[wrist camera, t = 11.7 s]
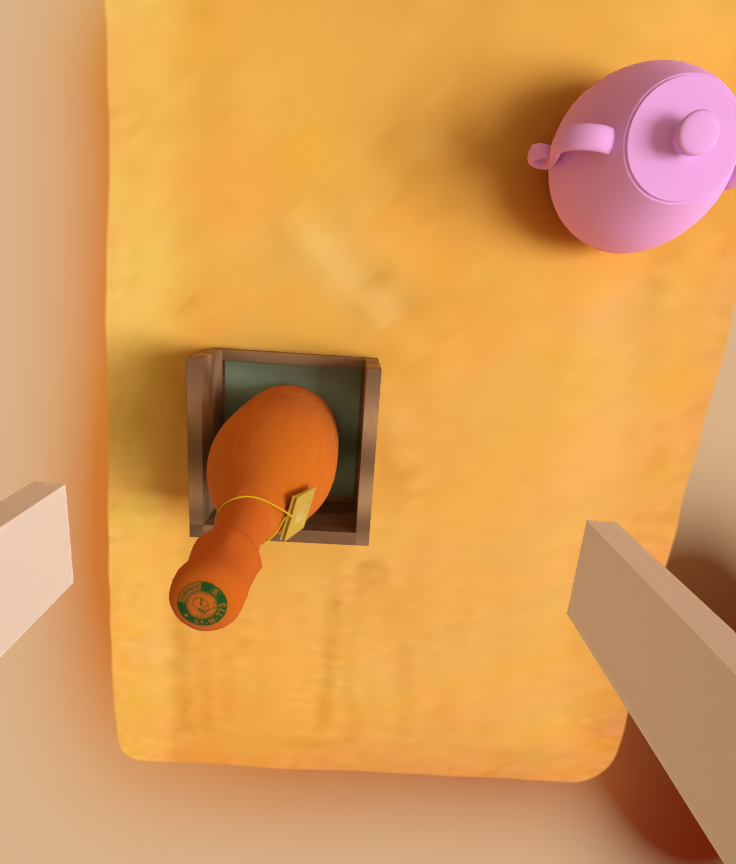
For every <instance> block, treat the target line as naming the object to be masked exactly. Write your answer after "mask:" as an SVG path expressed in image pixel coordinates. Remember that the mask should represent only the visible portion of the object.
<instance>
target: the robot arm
mask: <svg viewBox="0 0 736 864" xmlns="http://www.w3.org/2000/svg"><path fill="white" fill-rule="evenodd" d="M72 583H73V570H72V557H71V545H70V534H69V522H68V509H67V497H66V486H65V484H57V483H43V482H33V483H31V484H30V485H28V486H26V487H24V488H23V489H21V490H19V491H18V492H16V493H14V494H13V495H11V496H9V497H8V498H6V499H5V500H3V501H1V502H0V657H1V656H2V655H3V654H4V653H5V652H6V651H7V650H8V649H9V648H10V647H11V646H12V645H13V644H14V643H15V642H16V641H17V640H18V639H19V638H20V636H22V635H23V634H24V633H25V632H26V631H27V630H28V628H29V627H30V626H31V625H32V624H33V623H34V622H35V621H36V620H37V619H38V618H39V617H40V616H41V615H42V614H43V613H44V612H45V611H46V610H47V609H48V608H49V607H50V606H51V605H52V604H53V603H54V602H55V601H56V600H57V599H58V598H59V597H60V596H61V595H62V594H63V593H64V592H65V591H66V590H67V589H68V587H69V586H70V585H71V584H72ZM567 614H568V616H569V618H570V619H571V621H572V622H573V624H574V625H575V627H576V629H577V630H578V632H579V633H580V635H581V637H582V638H583V640H584V641H585V643H586V645H587V646H588V648H589V649H590V651H591V653H592V654H593V656H594V657H595V659H596V661H597V662H598V664H599V665H600V667H601V668H602V670H603V672H604V673H605V675H606V676H607V678H608V680H609V681H610V683H611V684H612V686H613V688H614V689H615V691H616V692H617V694H618V696H619V697H620V699H621V700H622V702H623V704H624V705H625V707H626V708H627V710H628V711H629V713H630V714H631V716H632V718H633V719H634V721H635V723H636V724H637V726H638V727H639V729H640V730H641V732H642V734H643V735H644V737H645V738H646V740H647V742H648V743H649V745H650V747H651V748H652V750H653V751H654V753H655V754H656V756H657V757H658V759H659V761H660V762H661V764H662V766H663V767H664V769H665V770H666V772H667V774H668V775H669V777H670V778H671V780H672V782H673V783H674V785H675V786H676V788H677V789H678V791H679V793H680V794H681V796H682V797H683V799H684V801H685V802H686V804H687V805H688V807H689V808H690V810H691V812H692V813H693V815H694V816H695V818H696V820H697V821H698V823H699V825H700V826H701V828H702V829H703V831H704V832H705V834H706V836H707V837H708V839H709V840H710V842H711V844H712V845H713V847H714V848H715V850H716V851H717V853H718V855H719V856H720V858H721V860H722V861H723V863H724V864H736V632H734V631H733V630H732V629H731V628H730V627H729V626H728V625H727V624H725V623H724V622H723V621H722V620H721V619H720V618H719V617H718V616H717V615H716V614H714V613H713V611H711V610H710V609H709V608H708V607H707V606H706V605H705V604H704V603H703V602H702V601H701V600H699V599H698V598H697V597H696V596H695V595H694V594H693V593H692V592H691V591H690V590H689V589H688V588H686V586H684V585H683V584H682V583H681V582H680V581H679V580H678V579H677V578H676V577H675V576H674V575H673V574H671V573H670V572H669V571H668V570H667V569H666V568H665V567H664V566H663V565H662V564H661V563H660V562H659V561H657V560H656V559H655V558H654V557H653V556H652V555H651V554H650V553H649V552H648V551H647V550H646V549H644V548H643V547H642V546H641V545H640V544H639V543H638V542H637V541H636V540H635V539H634V538H633V537H631V536H630V535H629V534H628V533H627V532H626V531H625V530H624V529H623V528H622V527H621V526H620V525H619V524H617V523H616V522H604V521H590V520H587V522H586V526H585V531H584V536H583V541H582V545H581V550H580V555H579V560H578V564H577V569H576V574H575V578H574V583H573V588H572V593H571V597H570V602H569V607H568V611H567Z"/></svg>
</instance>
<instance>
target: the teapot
mask: <svg viewBox="0 0 736 864" xmlns="http://www.w3.org/2000/svg"><path fill="white" fill-rule="evenodd" d="M527 160H528V163H529V165H531V166H532V167H534V168H537V169H543V170H546V169H549V170H548V178H549V189H550V194H551V198H552V201H553V205H554V207H555V210H556V212H557V214H558V216H559V218H560V219H561V221H562V222H563V224H564V225H565V226H566V227H567V229H568V230H569V231H570V232H571V233H572V234H573V235H574V236H575V237H577V238H578V239H579V240H580V241H582V242H584V243H585V244H587V245H589V246H591V247H593V248H595V249H598V250H601V251H605V252H611V253H634V252H640V251H644V250H648V249H651V248H655V247H657V246H659V245H662V244H664V243H666V242H668V241H670V240H672V239H674V238H675V237H677V236H679V235H680V234H682V233H683V232H685V231H686V230H687V229H689V228H690V227H691V226H693V225H694V224H695V223H696V222H697V221H699V220H700V219H701V218H702V217H703V216H704V215H705V214H706V213H707V212H708V211H709V209H710V208H711V207H712V206H713V205H714V203H715V202H716V201H717V199H718V198H719V196H720V195H721V193H722V192H723V190H727V189H731V188H735V187H736V99H735V97H734V95H733V93H732V92H731V90H730V89H729V88H728V86H727V85H726V84H725V83H724V82H723V81H722V80H720V79H719V78H717V77H716V76H715V75H713V74H712V73H710V72H708V71H706V70H704V69H703V68H701V67H698V66H695V65H692V64H689V63H686V62H681V61H674V60H653V61H647V62H641V63H638V64H634V65H631V66H628V67H624V68H622V69H620V70H618V71H616V72H613V73H611V74H609V75H607V76H605V77H604V78H602V79H601V80H599V81H598V82H596V83H595V84H594V85H592V86H591V87H590V88H589V89H587V90H586V91H585V92H584V93H583V94H582V95H581V96H580V97H579V98H578V99H577V100H576V101H575V102H574V103H573V105H572V106H571V107H570V109H569V110H568V111H567V113H566V114H565V116H564V118H563V120H562V121H561V123H560V125H559V128H558V130H557V132H556V134H555V137H554V139H553V141H552V144H551V145H549V144H544V143H536V144H533V145H532V146H531V148H530V149H529V152H528V155H527Z"/></svg>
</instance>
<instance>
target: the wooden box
mask: <svg viewBox="0 0 736 864" xmlns="http://www.w3.org/2000/svg"><path fill="white" fill-rule="evenodd" d="M186 377H187V424H188V472H189V519H190V537H200V536H202V535H203V534H204V533H206V532H208V531H210V530H212V529H213V527H214V524H215V517H216V514H217V511H216V509H215V507H214V505H213V503H212V500H211V497H210V494H209V490H208V484H207V462H208V456H209V452H210V448H211V446H212V443H213V441H214V439H215V437H216V435H217V433H218V432H219V430H220V429H221V428H222V426H223V425H224V424H225V422H226V421H227V420H228V419H229V418H230V417H231V416H232V415H233V414H234V413H235V412H236V411H237V410H238V409H240V408H241V407H242V406H243V405H244V404H246V403H247V402H248V401H249V400H251V399H252V398H253V397H255V396H256V395H257V394H259V393H261V392H262V391H264V390H266V389H269V388H271V387H275V386H280V385H296V386H300V387H304V388H307V389H309V390H311V391H313V392H314V393H316V394H318V395H319V396H320V397H321V398H322V399H323V400H324V401H325V402H326V403H327V404H328V405H329V407H330V408H331V410H332V411H333V414H334V416H335V419H336V422H337V426H338V434H339V446H338V459H337V468H336V473H335V478H334V481H333V484H332V487H331V489H330V491H329V494H328V496H327V497H326V499H325V500H324V502H323V503H322V505H321V506H320V507H319V508H318V510H317V511H316V512H315V513H314V514H313V515H312V516H310V517H309V518H308V519H307V520H306V522H305V526H304V528H303V529H301V530H300V531H299V532H297V533H296V534H295V535H293V536H292V537H290V538H289V539H288V540H286V541H285V542H303V543H323V544H342V545H361V546H369V532H370V519H371V505H372V491H373V478H374V464H375V451H376V437H377V423H378V410H379V396H380V382H381V367H380V364H379V361H378V358H364V357H348V356H333V355H317V354H302V353H287V352H271V351H256V350H240V349H225V348H211V349H208V350H205V351H202V352H200V353H197V354H194V355H191V356H188V357H186ZM281 534H282V533H280V534H277V535H274V536H273V537H272V538H271V539H270V540H269V541H283V540H280V537H281ZM266 541H267V540H266Z"/></svg>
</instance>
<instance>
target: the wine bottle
mask: <svg viewBox="0 0 736 864" xmlns="http://www.w3.org/2000/svg"><path fill="white" fill-rule="evenodd" d="M338 446H339V434H338V426H337V422H336V419H335V416H334V414H333V411H332V410H331V408H330V407H329V405H328V404H327V403H326V402H325V401H324V400H323V399H322V398H321V397H320V396H319V395H318V394H316V393H314V392H313V391H311V390H309V389H307V388H304V387H300V386H296V385H280V386H275V387H271V388H269V389H266V390H264V391H262V392H261V393H259V394H257V395H256V396H255V397H253V398H252V399H251V400H249V401H248V402H247V403H246V404H244V405H243V406H242V407H241V408H240V409H238V410H237V411H236V412H235V413H234V414H233V415H232V416H231V417H230V418H229V419H228V420H227V421H226V422H225V424H224V425H223V426H222V428H221V429H220V430H219V432H218V433H217V435H216V437H215V439H214V441H213V443H212V446H211V448H210V452H209V456H208V462H207V484H208V490H209V494H210V497H211V500H212V503H213V505H214V507H215V509H216V511H217V514H216V517H215V524H214V527H213V529H212V530H210V531H208V532H206V533H204V534H203V535H202V536H200V537H199V538H198V539H197V541H196V542H195V544H194V546H193V548H192V551H191V554H190V557H189V560H188V561H187V562H186V563H185V564H184V565H183V566H182V567H181V568H179V570H178V571H177V573H176V575H175V577H174V579H173V581H172V584H171V587H170V592H169V600H170V605H171V607H172V609H173V611H174V613H175V615H176V616H177V617H178V619H179V620H180V621H181V622H183V623H184V624H186V625H187V626H189V627H191V628H193V629H196V630H200V631H213V630H218V629H221V628H223V627H225V626H227V625H228V624H230V623H231V622H233V621H234V620H235V619H236V618H237V616H238V615H239V613H240V611H241V609H242V607H243V605H244V602H245V600H246V598H247V595H248V592H249V589H250V586H251V584H252V582H253V580H254V578H255V577H256V575H257V573H258V572H259V571H260V569H261V568H262V562H261V558H260V554H259V551H258V550H259V548H260V546H261V545H263V544H265V543H267V542H268V541H269V540H270V539H271V538H272V537H273V536H274V535H277V534H280V533H282V534H281V537H280V540H283V541H284V542H285V541H286V540H288V539H289V538H290V537H292V536H293V535H295V534H296V533H297V532H299V531H300V530H301V529H303V528H304V526H305V522H306V520H307V519H308V518H309V517H310V516H312V515H313V514H314V513H315V512H316V511H317V510H318V508H319V507H320V506H321V505H322V503H323V502H324V500H325V499H326V497H327V496H328V494H329V491H330V489H331V487H332V484H333V481H334V478H335V473H336V468H337V459H338ZM266 540H267V541H266ZM263 542H264V543H263Z"/></svg>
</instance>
